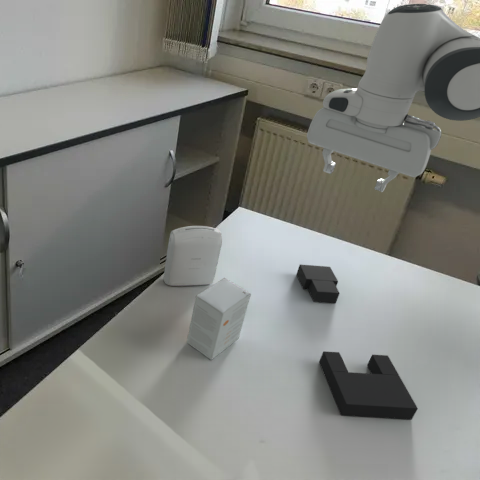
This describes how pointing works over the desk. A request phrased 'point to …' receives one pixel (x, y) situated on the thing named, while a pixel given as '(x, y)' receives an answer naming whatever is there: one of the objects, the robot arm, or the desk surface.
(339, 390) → the black notched block
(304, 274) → the black block
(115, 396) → the desk surface
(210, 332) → the small box
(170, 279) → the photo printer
